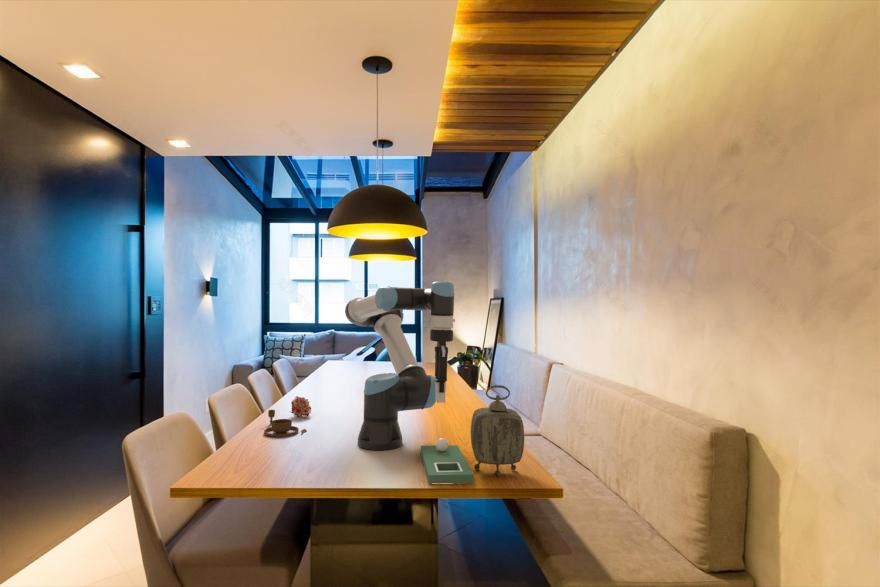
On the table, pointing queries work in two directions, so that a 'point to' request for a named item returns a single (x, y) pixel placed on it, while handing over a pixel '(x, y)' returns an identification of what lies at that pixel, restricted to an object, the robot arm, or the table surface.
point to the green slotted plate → (445, 465)
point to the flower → (300, 407)
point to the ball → (441, 444)
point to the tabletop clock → (497, 434)
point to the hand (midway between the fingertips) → (440, 400)
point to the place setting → (280, 427)
